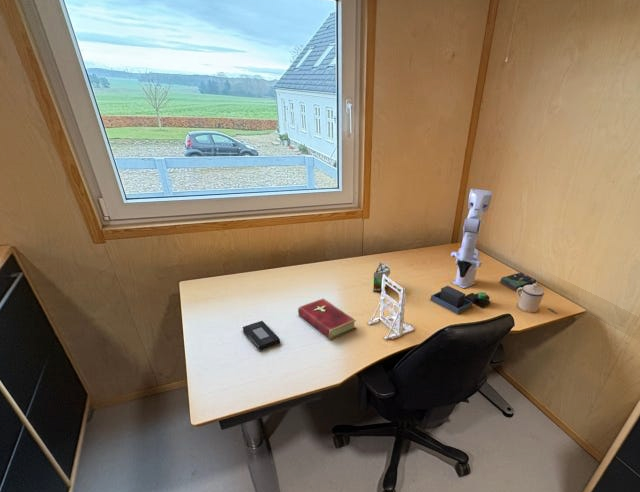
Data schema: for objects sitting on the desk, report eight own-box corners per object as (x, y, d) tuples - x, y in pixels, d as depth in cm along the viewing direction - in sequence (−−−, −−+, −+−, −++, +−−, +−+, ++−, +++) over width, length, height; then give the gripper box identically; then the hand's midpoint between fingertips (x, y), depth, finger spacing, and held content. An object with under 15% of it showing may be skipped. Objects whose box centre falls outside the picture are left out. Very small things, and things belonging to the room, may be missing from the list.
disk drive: (518, 277, 187) (499, 282, 179) (520, 272, 185) (501, 277, 178) (535, 285, 180) (516, 291, 172) (537, 280, 178) (517, 286, 171)
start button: (480, 294, 161) (481, 291, 160) (487, 297, 158) (488, 294, 157) (476, 296, 158) (476, 293, 157) (483, 300, 156) (483, 296, 155)
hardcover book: (329, 340, 130) (329, 330, 128) (298, 315, 142) (297, 306, 140) (355, 328, 137) (355, 319, 135) (323, 306, 150) (323, 297, 147)
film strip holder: (417, 331, 139) (423, 284, 128) (387, 341, 132) (391, 293, 121) (395, 313, 148) (399, 269, 137) (366, 322, 141) (368, 276, 131)
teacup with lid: (542, 309, 159) (551, 286, 152) (529, 314, 154) (537, 290, 148) (521, 298, 167) (527, 275, 161) (507, 302, 162) (514, 279, 156)
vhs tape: (259, 351, 122) (259, 346, 121) (243, 331, 131) (242, 326, 130) (280, 343, 127) (279, 338, 126) (262, 325, 136) (262, 320, 134)
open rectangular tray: (444, 293, 166) (445, 289, 164) (472, 307, 157) (473, 302, 155) (430, 300, 160) (431, 295, 158) (457, 314, 151) (458, 309, 149)
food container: (386, 295, 161) (387, 275, 156) (372, 293, 162) (373, 273, 157) (391, 283, 171) (392, 263, 166) (378, 281, 172) (379, 262, 167)
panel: (471, 295, 166) (473, 288, 164) (490, 304, 160) (492, 297, 158) (463, 299, 162) (464, 292, 160) (482, 308, 156) (484, 301, 154)
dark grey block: (445, 297, 162) (447, 285, 159) (463, 306, 157) (465, 294, 153) (439, 300, 160) (441, 288, 156) (456, 309, 154) (459, 297, 151)
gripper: (448, 243, 153) (443, 273, 160) (477, 254, 144) (470, 284, 151) (458, 240, 157) (453, 269, 164) (486, 250, 149) (480, 280, 156)
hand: (462, 276), depth 158 cm, fingers closed
